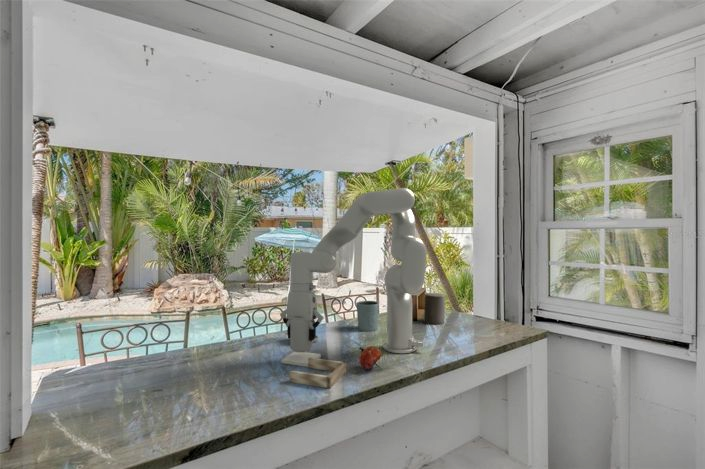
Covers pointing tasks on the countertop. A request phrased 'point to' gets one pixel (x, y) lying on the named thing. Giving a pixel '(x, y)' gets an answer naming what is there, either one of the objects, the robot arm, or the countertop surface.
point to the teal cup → (367, 315)
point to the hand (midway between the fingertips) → (301, 338)
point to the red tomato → (369, 357)
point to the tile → (299, 358)
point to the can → (299, 335)
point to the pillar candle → (434, 308)
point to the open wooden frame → (320, 380)
